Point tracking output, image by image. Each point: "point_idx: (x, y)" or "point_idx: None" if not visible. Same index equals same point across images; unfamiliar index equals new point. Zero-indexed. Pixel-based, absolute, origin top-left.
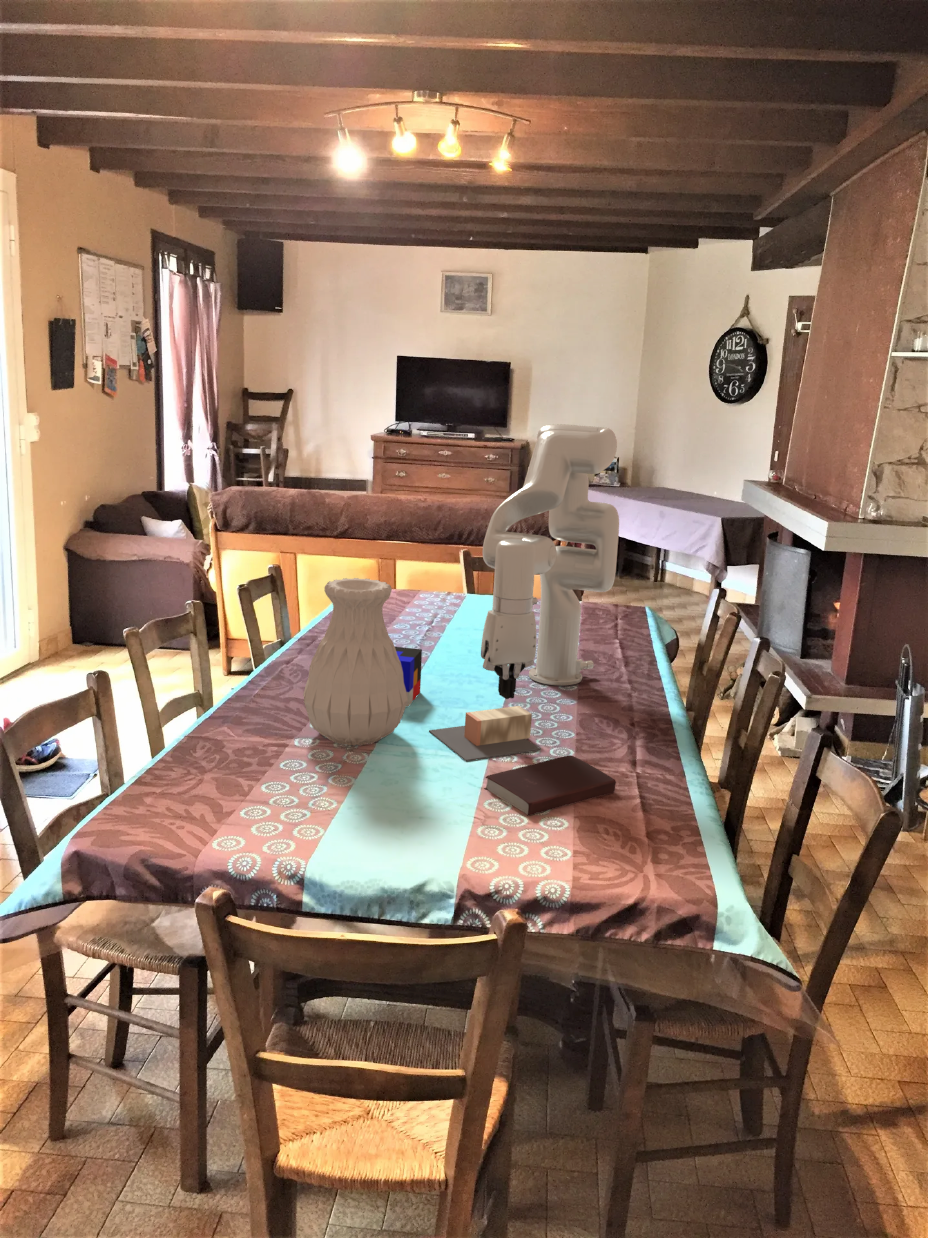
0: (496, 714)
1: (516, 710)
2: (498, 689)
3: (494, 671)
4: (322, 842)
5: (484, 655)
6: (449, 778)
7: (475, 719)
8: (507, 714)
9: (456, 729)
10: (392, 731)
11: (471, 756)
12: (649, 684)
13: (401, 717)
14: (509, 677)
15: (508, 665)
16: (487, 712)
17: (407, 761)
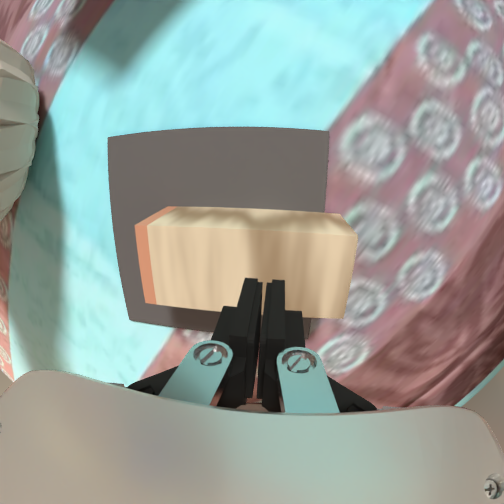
0: (226, 279)
1: (318, 274)
2: (222, 311)
3: (159, 373)
4: (14, 370)
5: (39, 378)
6: (96, 350)
7: (143, 290)
8: (263, 294)
9: (170, 149)
10: (22, 189)
11: (143, 312)
12: None
13: (20, 170)
14: (263, 381)
15: (281, 400)
16: (204, 252)
17: (49, 271)
